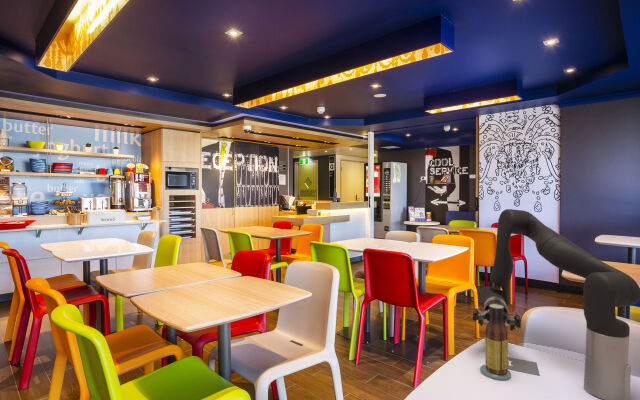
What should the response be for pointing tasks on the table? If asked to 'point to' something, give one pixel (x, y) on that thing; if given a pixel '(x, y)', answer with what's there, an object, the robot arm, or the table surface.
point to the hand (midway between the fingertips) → (496, 325)
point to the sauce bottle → (496, 342)
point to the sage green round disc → (494, 376)
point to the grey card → (523, 366)
